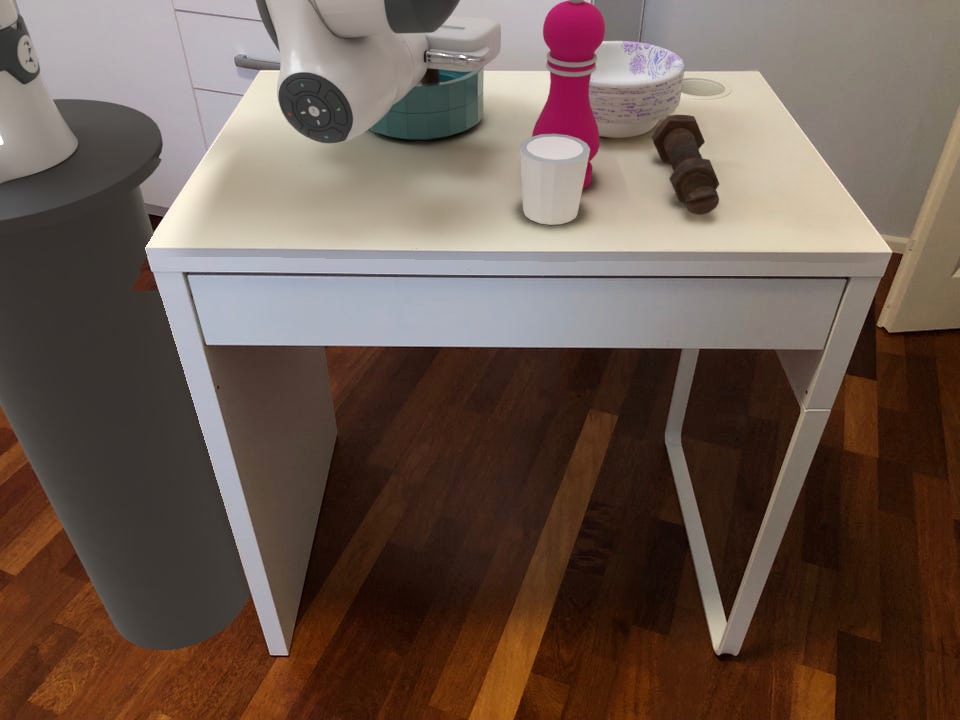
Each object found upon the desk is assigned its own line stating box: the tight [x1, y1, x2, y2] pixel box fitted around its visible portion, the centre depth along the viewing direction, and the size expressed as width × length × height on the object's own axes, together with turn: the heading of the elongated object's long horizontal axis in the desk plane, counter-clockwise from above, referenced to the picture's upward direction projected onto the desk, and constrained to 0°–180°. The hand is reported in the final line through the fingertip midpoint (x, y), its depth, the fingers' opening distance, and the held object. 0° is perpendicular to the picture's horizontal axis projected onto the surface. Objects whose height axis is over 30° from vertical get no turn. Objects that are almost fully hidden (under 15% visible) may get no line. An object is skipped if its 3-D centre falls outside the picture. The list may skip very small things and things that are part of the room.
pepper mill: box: [531, 0, 606, 190], centre depth 81 cm, size 7×7×20 cm
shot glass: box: [519, 134, 590, 226], centre depth 79 cm, size 7×7×7 cm
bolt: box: [651, 114, 720, 215], centre depth 84 cm, size 6×5×15 cm
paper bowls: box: [589, 40, 686, 139], centre depth 96 cm, size 15×15×8 cm
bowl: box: [368, 66, 485, 141], centre depth 98 cm, size 16×16×7 cm
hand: (430, 15), depth 92 cm, fingers closed on muddler, 2 cm apart
